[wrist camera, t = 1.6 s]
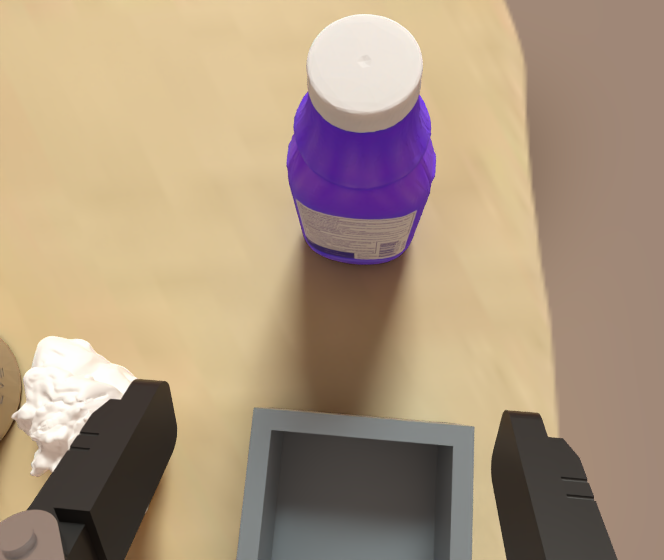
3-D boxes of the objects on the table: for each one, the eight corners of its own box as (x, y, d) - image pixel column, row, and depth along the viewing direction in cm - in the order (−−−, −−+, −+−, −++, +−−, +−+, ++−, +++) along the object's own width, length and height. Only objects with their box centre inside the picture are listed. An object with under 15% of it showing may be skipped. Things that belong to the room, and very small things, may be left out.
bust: (173, 513, 33) (242, 481, 25) (43, 583, 29) (76, 571, 20) (107, 345, 36) (149, 266, 28) (-22, 382, 31) (-16, 299, 23)
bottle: (416, 192, 35) (471, -5, 19) (411, 274, 34) (464, 142, 17) (309, 184, 36) (267, -15, 19) (299, 264, 35) (244, 127, 18)
